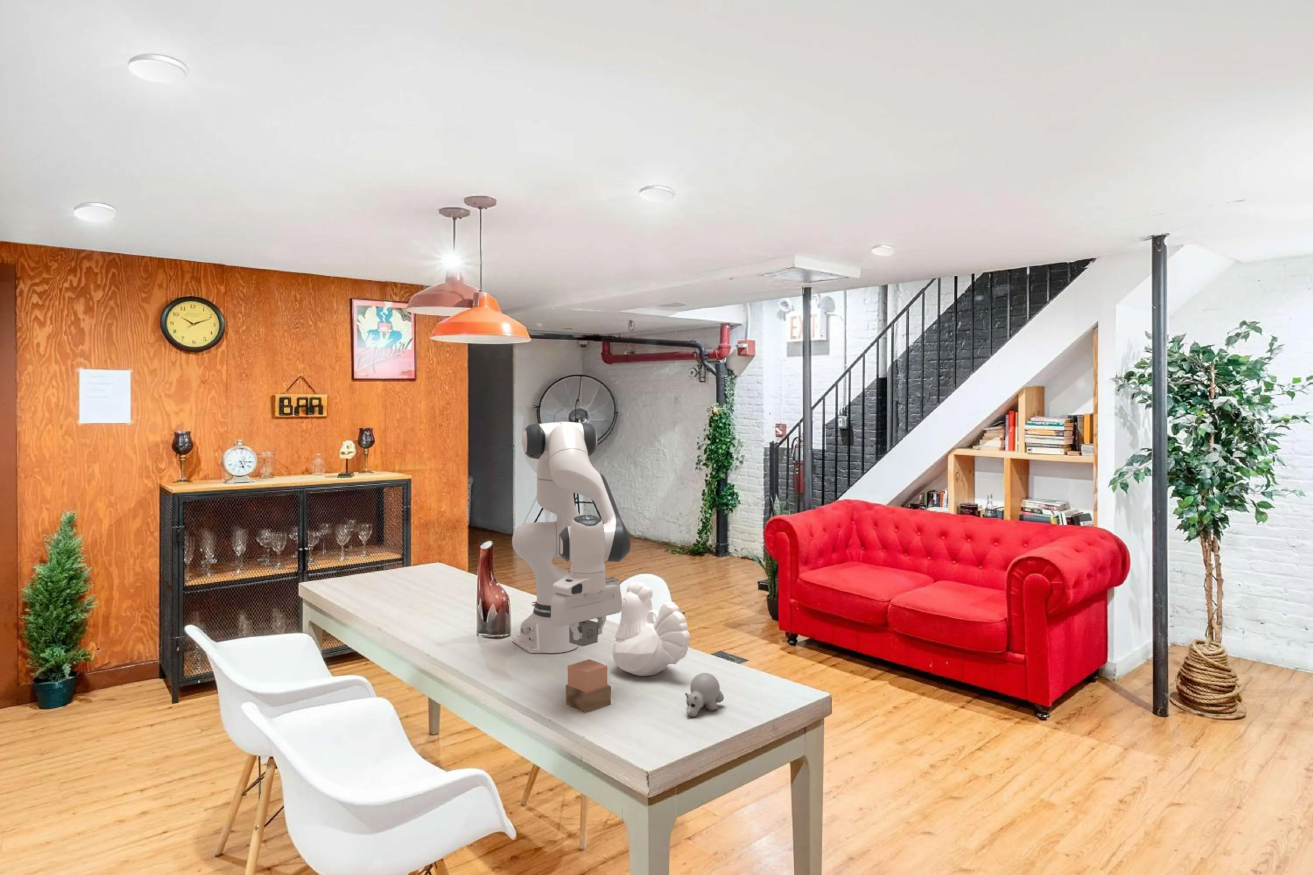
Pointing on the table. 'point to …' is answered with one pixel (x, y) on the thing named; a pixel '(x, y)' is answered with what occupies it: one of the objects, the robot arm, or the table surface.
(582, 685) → the terracotta top block
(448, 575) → the table surface
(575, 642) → the dice cube
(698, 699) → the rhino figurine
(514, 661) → the table surface
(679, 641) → the decorative rooster
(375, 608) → the table surface
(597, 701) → the walnut base block
